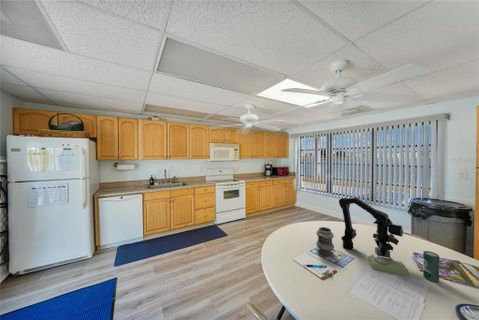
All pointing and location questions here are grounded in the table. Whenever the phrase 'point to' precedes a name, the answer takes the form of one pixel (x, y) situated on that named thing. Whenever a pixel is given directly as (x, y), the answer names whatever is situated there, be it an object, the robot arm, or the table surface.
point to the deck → (387, 265)
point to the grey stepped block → (378, 252)
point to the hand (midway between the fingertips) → (382, 253)
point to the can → (431, 266)
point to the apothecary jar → (325, 241)
